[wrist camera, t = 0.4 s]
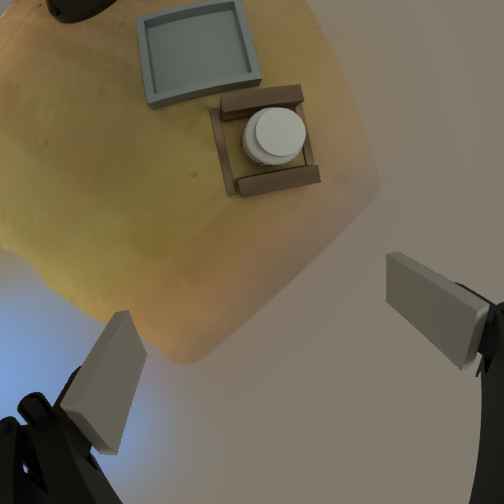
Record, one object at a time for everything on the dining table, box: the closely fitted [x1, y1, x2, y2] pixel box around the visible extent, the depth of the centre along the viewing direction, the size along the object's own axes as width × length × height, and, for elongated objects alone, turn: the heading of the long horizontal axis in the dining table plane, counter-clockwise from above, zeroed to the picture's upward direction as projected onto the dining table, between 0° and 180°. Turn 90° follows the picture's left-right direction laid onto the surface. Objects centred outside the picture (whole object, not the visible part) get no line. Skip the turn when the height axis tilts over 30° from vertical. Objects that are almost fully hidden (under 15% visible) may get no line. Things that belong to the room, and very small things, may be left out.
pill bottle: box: [241, 107, 306, 166], centre depth 29 cm, size 6×6×11 cm
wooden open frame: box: [209, 84, 321, 198], centre depth 31 cm, size 12×12×6 cm
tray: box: [136, 0, 262, 109], centre depth 28 cm, size 14×14×3 cm
